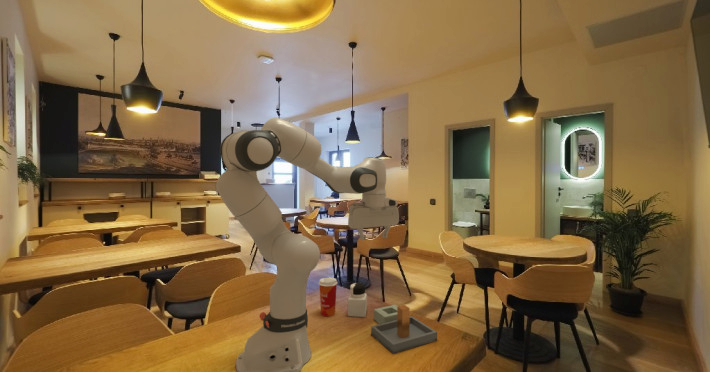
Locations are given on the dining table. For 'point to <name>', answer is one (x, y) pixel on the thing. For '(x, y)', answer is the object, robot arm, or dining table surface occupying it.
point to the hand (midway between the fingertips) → (374, 238)
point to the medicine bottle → (357, 300)
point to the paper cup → (328, 296)
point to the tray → (395, 343)
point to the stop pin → (403, 321)
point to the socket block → (385, 314)
